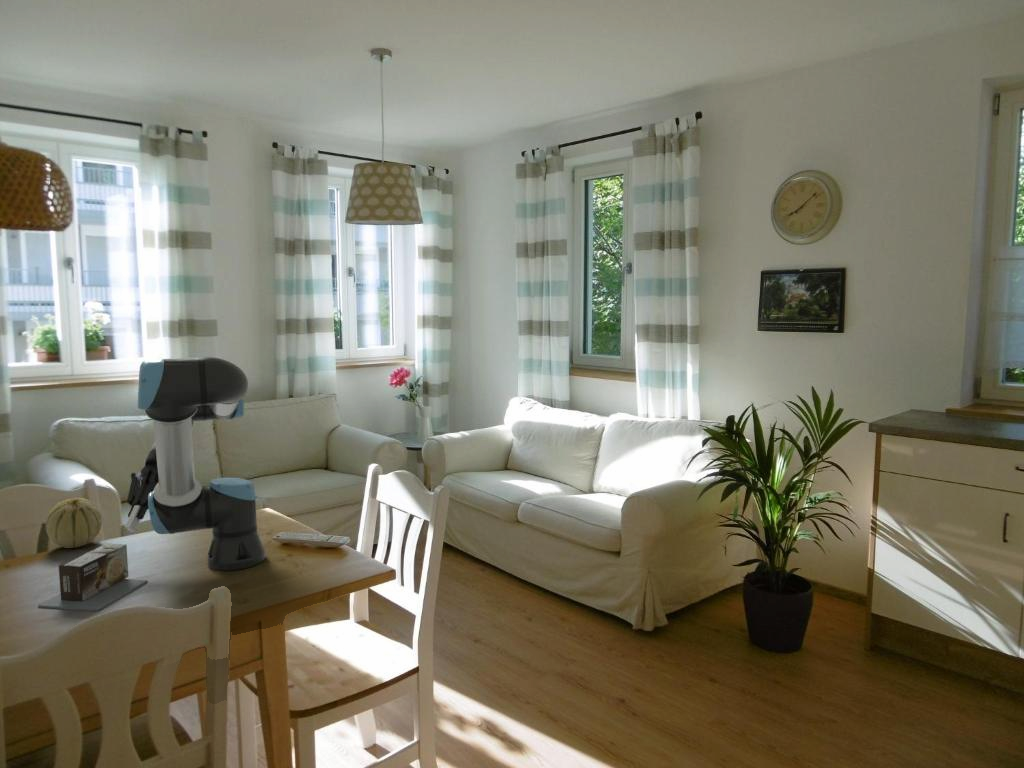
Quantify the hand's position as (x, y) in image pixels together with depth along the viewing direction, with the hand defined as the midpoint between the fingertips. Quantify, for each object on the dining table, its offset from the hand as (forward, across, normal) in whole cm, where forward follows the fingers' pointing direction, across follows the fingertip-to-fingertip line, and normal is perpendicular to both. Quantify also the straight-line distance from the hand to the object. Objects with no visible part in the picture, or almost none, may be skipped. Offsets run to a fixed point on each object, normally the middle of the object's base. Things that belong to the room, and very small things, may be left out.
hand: (129, 529), depth 196 cm
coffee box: (+8, 0, -1) cm, 8 cm away
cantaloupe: (-3, +30, -20) cm, 37 cm away
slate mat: (+19, -1, +3) cm, 20 cm away
